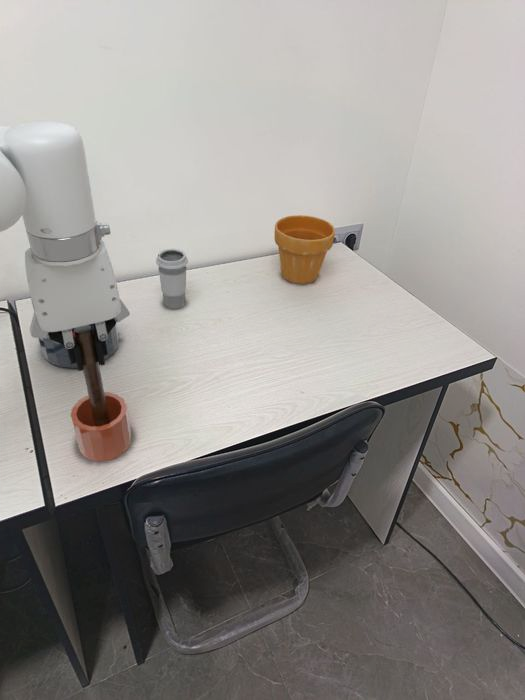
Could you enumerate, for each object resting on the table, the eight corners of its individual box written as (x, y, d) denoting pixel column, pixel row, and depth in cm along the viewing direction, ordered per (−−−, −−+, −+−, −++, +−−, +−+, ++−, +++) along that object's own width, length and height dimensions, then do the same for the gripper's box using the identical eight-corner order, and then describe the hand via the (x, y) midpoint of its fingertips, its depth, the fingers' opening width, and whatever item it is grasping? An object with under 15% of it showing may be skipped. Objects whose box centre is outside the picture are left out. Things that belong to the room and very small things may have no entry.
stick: (98, 433, 75) (76, 335, 64) (94, 424, 76) (71, 327, 65) (112, 428, 76) (93, 330, 65) (108, 419, 77) (88, 322, 66)
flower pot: (266, 262, 128) (270, 215, 120) (319, 261, 131) (325, 214, 123) (277, 291, 118) (281, 241, 110) (334, 289, 120) (342, 239, 112)
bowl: (49, 378, 89) (42, 352, 86) (36, 335, 99) (30, 310, 95) (127, 358, 95) (124, 333, 91) (108, 319, 105) (104, 295, 101)
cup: (159, 295, 113) (155, 247, 106) (188, 294, 114) (186, 247, 107) (159, 312, 108) (155, 263, 100) (190, 311, 109) (188, 262, 101)
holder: (85, 468, 74) (77, 437, 70) (74, 432, 80) (66, 401, 75) (137, 450, 78) (133, 419, 73) (123, 417, 83) (118, 386, 79)
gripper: (123, 217, 63) (138, 333, 74) (-16, 237, 56) (23, 361, 68) (142, 242, 58) (154, 362, 69) (-9, 267, 51) (32, 395, 63)
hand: (89, 361), depth 68 cm, fingers closed on stick, 2 cm apart
